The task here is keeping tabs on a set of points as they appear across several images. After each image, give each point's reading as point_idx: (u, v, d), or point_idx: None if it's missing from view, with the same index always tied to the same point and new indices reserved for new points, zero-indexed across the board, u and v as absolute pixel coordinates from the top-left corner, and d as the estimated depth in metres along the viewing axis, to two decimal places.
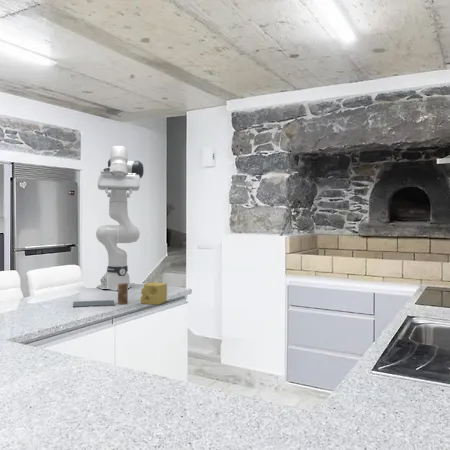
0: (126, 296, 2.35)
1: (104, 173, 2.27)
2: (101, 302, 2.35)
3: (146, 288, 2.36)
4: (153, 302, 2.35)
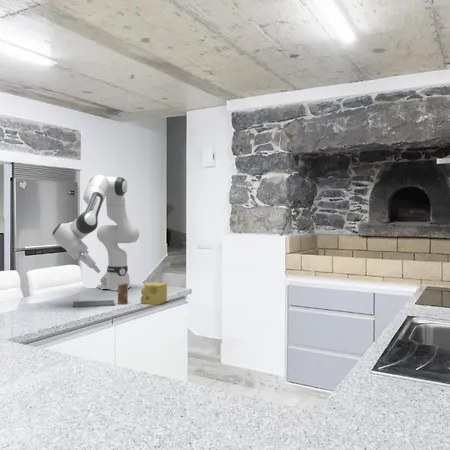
0: (126, 296, 2.35)
1: None
2: (101, 302, 2.35)
3: (146, 288, 2.36)
4: (153, 302, 2.35)
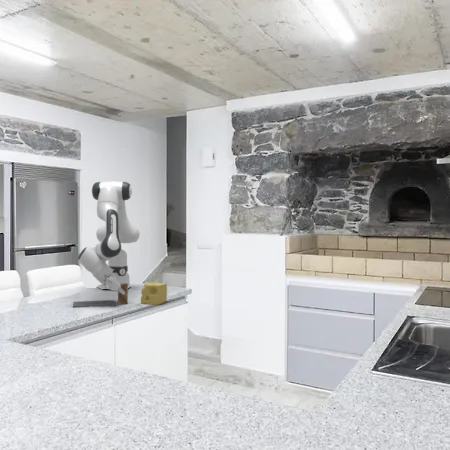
0: (126, 296, 2.35)
1: None
2: (101, 302, 2.35)
3: (146, 288, 2.36)
4: (153, 302, 2.35)
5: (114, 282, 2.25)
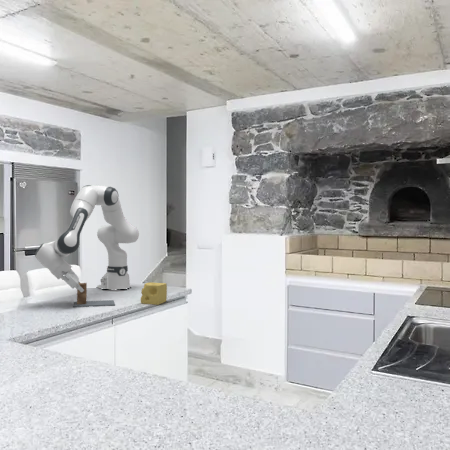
0: (85, 296, 2.30)
1: None
2: (101, 302, 2.35)
3: (146, 288, 2.36)
4: (153, 302, 2.35)
5: (71, 279, 2.20)
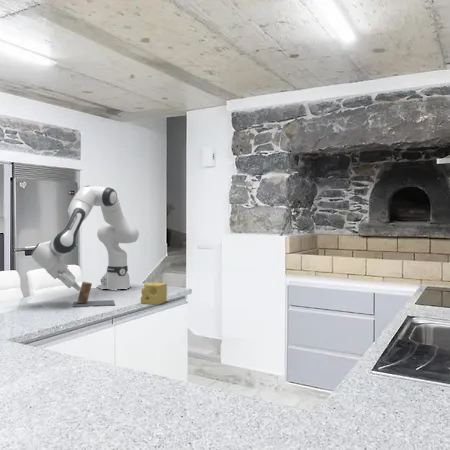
0: (87, 296, 2.30)
1: None
2: (101, 302, 2.35)
3: (146, 288, 2.36)
4: (153, 302, 2.35)
5: (67, 278, 2.20)
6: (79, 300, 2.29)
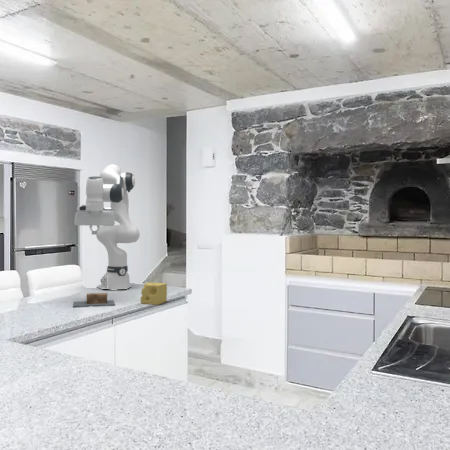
0: (94, 302, 2.31)
1: (80, 211, 2.33)
2: None
3: (146, 288, 2.36)
4: (153, 302, 2.35)
5: None
6: (88, 296, 2.30)
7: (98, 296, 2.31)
